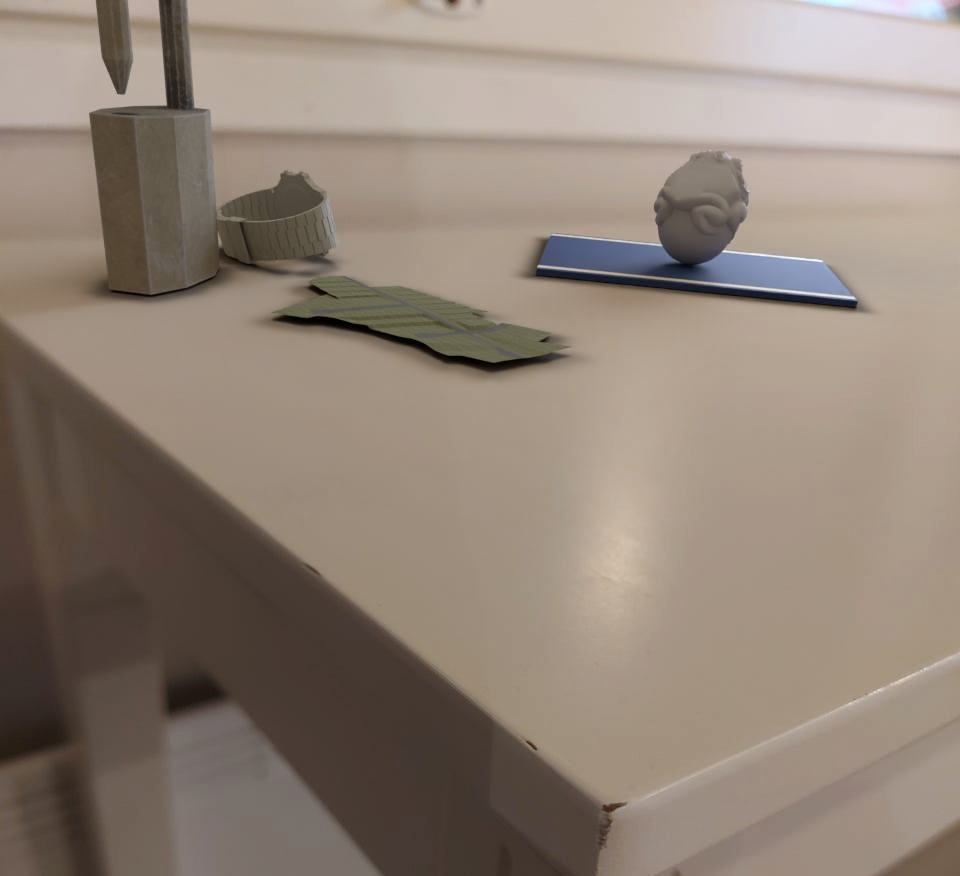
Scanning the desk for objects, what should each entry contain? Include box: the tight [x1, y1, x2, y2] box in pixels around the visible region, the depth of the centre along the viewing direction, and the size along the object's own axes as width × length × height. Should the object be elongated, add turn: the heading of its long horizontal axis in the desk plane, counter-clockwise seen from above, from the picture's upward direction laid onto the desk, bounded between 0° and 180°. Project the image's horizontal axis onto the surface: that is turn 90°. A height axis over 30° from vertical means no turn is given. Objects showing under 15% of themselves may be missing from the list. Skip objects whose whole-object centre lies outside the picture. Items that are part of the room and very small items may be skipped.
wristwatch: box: [216, 169, 340, 265], centre depth 61 cm, size 9×6×5 cm
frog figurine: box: [653, 149, 751, 265], centre depth 67 cm, size 6×7×7 cm
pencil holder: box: [88, 0, 221, 295], centre depth 52 cm, size 4×8×15 cm, turn 167°
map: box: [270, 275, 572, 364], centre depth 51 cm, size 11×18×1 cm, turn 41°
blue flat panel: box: [535, 232, 859, 308], centre depth 69 cm, size 20×14×1 cm
